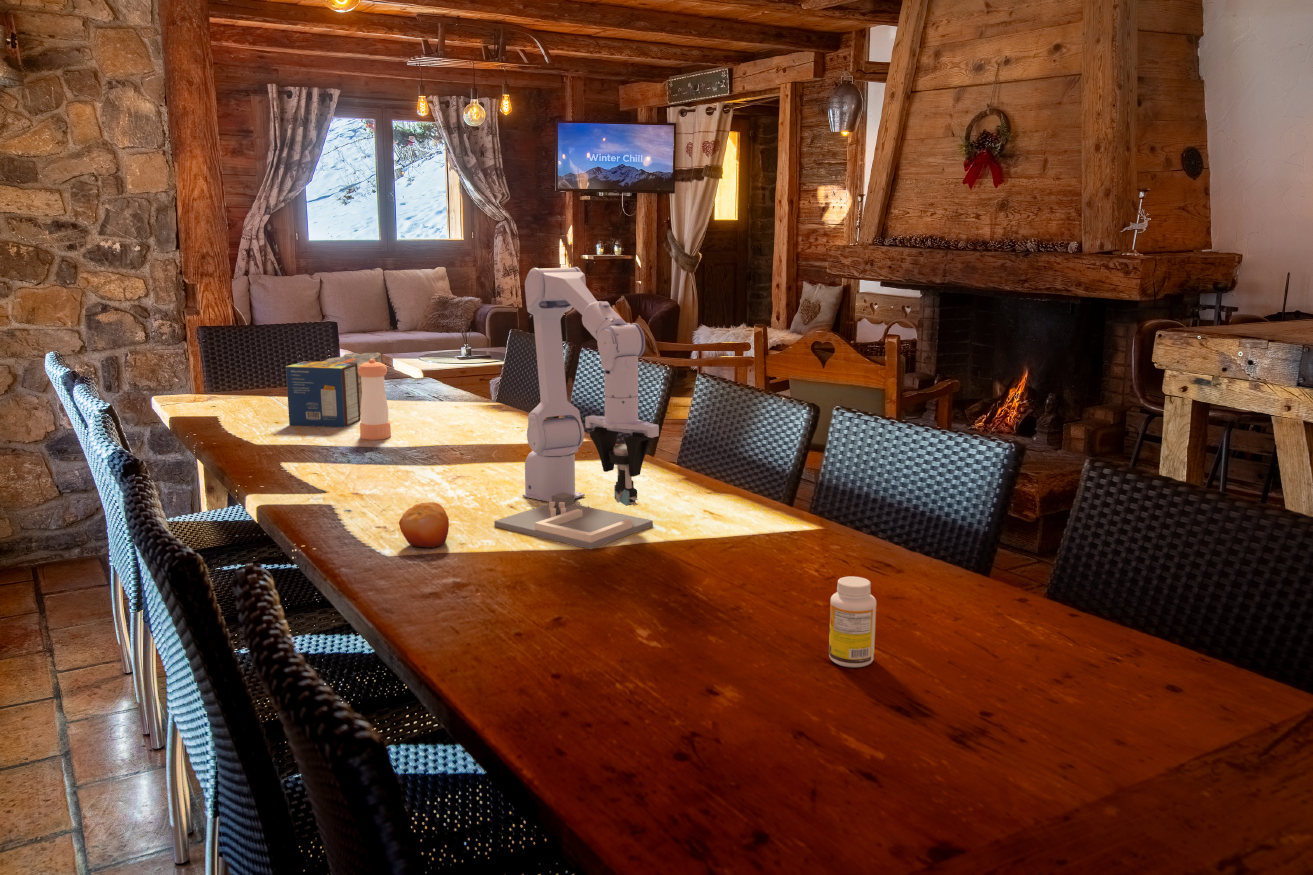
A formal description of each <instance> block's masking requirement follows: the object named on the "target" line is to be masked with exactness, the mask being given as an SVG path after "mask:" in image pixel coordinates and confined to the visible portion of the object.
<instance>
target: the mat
mask: <svg viewBox="0 0 1313 875" xmlns="http://www.w3.org/2000/svg"><path fill="white" fill-rule="evenodd" d="M565 508H566V512H569V511H573V510H576V509H580V510H582V511H583V517H580V518H577V519H574V520H571V521H568V522H565V523H562V524H559V525H558V526H563V527H567V528H571V529H576V530H580V531H585V532H589V533H590V532H593V531H596V530H599V529H601V528H604V527H607V526H610V525H613V524H615V523H618V522H621V521H624V520H626V519H628V520H632V528H629V529H626V530H624V531H621V532H618V533H615V534H613V535H610V536H607V537H605V538H602V539H599V540H597V541H594V542H591V543H590V542H586V541H582V540H577V539H573V538H569V537H564V536H560V535H556V534H552V533H547V532H543V531H539V530H535V523H536V522H539V521H542V520H545V519H548V518H551V510H549V503H547V504H544V505H542V506H537V507H534V508H532V509H528V510H525V511H523V512H522V511H521V512H519V513H515V514H513V515H509V516H506V517H503V518H499V519H496V520H494V521H493V522H494V528H495V527H496V528H499V529H505V530H508V531H512V532H517V533H520V534H524V535H529V536H534V537H537V538H540V539H541V538H542V539H547V540H551V541H554V542H555V541H556V542H559V543H564V544H568V545H571V546H576V547H580V548H585V549H589V550H593V549H595V548H598V547H601V546H603V545H607V544H608V543H611V542H614V541H617V540H619V539H622V538H624V537H627V536H630V535H632V534H636V533H637V532H640V531H644V530H646V529H648V528H652V527H653V526H654V520H652V519H648V518H647V519H646V518H642V517H638V516H633V515H628V514H623V513H619V512H614V511H609V510H604V509H600V508H594V507H589V506H585V505H580V504H577V503H576V504H575V503H574V504H571V505H568V506H565ZM560 512H561V511H560Z"/></svg>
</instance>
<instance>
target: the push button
mask: <svg viewBox="0 0 1313 875" xmlns="http://www.w3.org/2000/svg"><path fill="white" fill-rule="evenodd" d="M609 456H610V461H611V463H614V466H617V481H615V484H614V488H613V489H614V496H613V497H614V500H615V502H616V503H618V504H619V503H621V504H623V505H624V506H638V505H639V504H638V503H637V502H636V501H638V500H639V498H638V490H637V488H635V487H634V485H635V484H634V481H633V478H632V476H630V474H629V457H628V451H627V446H626V443H622V444H616V445H615V446H614V450H611V451H609Z"/></svg>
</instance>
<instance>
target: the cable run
mask: <svg viewBox="0 0 1313 875" xmlns="http://www.w3.org/2000/svg"><path fill="white" fill-rule="evenodd" d="M575 500H576V499H574V495H572V494H567V493H559V494H556V495H553V496H552V502H548V504H549V510H551V517H554V516H557V515H560V514H563V513H566V508H565V506H568V505H571V504H575V503H576V502H575ZM560 511H561V512H560Z"/></svg>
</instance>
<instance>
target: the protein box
mask: <svg viewBox="0 0 1313 875" xmlns="http://www.w3.org/2000/svg"><path fill="white" fill-rule="evenodd" d="M357 371H358V366H357V362H322V361H310V360H309V361H306V360H305V361H304V360H303V361H300V362H297V363H293V364H290V365H286V366H285V376H286V390H287V407H288V408H287V409H288V423H289V424H288V425H289V426H296V427H298V426H299V427H320V428H321V427H326V428H346V427H348V426H350V425H352V424H354V423H356V422H359V421H361V411H360V409H361V408H360V400H359V384H358V372H357Z"/></svg>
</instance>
